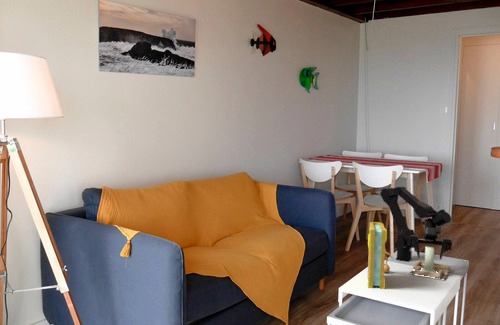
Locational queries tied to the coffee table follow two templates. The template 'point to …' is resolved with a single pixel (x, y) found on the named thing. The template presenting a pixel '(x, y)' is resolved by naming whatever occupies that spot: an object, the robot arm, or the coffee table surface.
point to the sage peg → (429, 260)
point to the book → (376, 254)
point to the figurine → (386, 267)
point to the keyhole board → (440, 268)
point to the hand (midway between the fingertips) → (429, 258)
